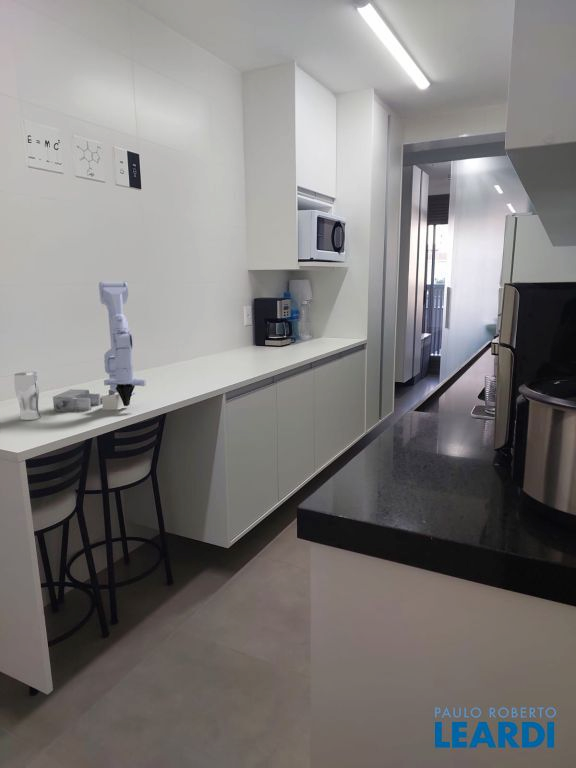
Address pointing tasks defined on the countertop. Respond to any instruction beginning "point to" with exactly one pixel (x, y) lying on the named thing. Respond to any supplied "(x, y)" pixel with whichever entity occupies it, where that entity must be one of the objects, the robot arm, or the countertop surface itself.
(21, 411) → the beer glass
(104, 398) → the white block
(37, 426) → the countertop surface
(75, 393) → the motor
